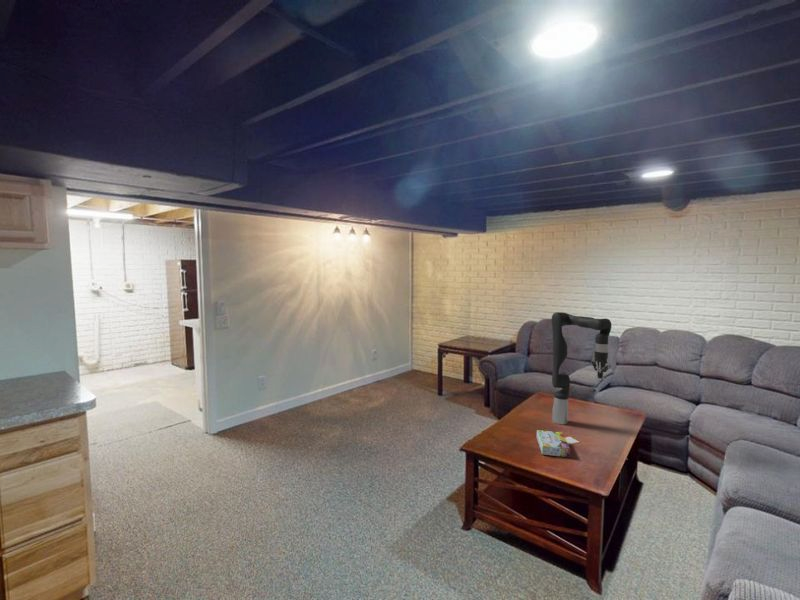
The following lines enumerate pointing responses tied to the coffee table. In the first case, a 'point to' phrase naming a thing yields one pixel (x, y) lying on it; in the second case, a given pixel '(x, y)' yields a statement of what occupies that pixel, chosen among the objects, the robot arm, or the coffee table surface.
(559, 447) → the snack box
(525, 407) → the coffee table surface
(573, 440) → the mat
